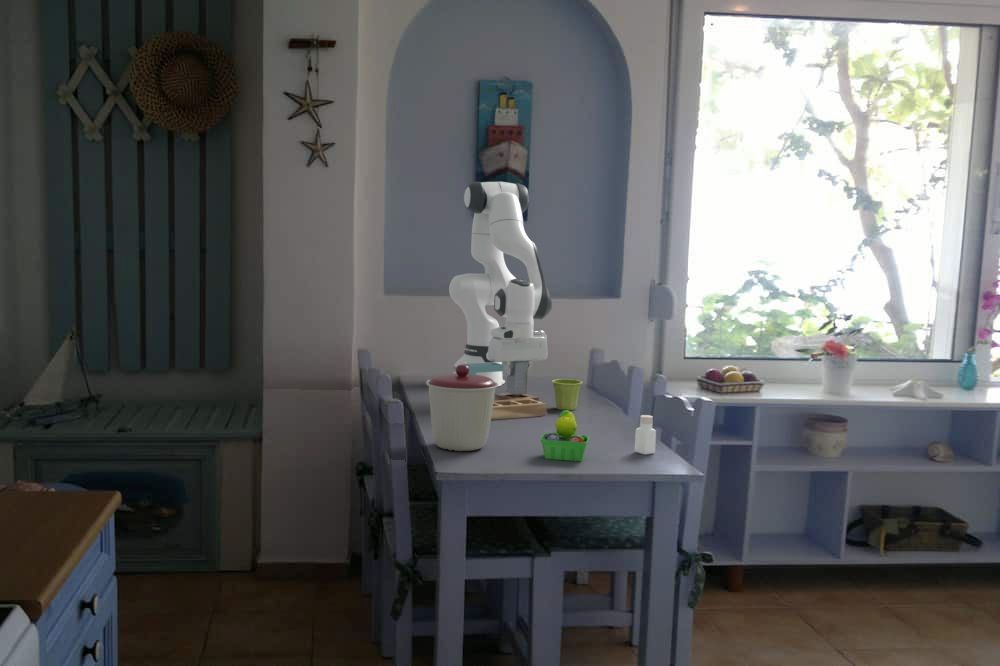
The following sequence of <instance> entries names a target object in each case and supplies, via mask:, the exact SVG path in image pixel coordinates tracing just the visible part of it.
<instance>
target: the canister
mask: <svg viewBox="0 0 1000 666" xmlns="http://www.w3.org/2000/svg"><path fill="white" fill-rule="evenodd" d="M469 371H470V369H469V367H468V366H467V365H458V366H457V367H456V374H454V373H444V374H438V375H434V376H433V377H431V378H430V379H428V380H426V381H425V382H426V383H425V384H426V386H427V387H428V397H429V399H428V400H429V408H430V409H429V410H430V411H429V412H430V422H431V433H432V438H433V442H434V443H435V444H436V446H437V447H438V448H440V449H443V450H446V449H448V450H449V451H452V450H454V451H453V452H470V451H476V450H479V449H482V448H483V447H484V446H485V445H486V443H487V441H488V438H489V434H490V426H491V421H492V420H491V416H492V409H493V402H494V401H495V394H496V389H497V388H498V387H499V386H498V383H496V382H494V381H493V380H492V379H491V378H488V377H485V376H481V375H474V374H469Z"/></svg>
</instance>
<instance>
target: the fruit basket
mask: <svg viewBox="0 0 1000 666" xmlns="http://www.w3.org/2000/svg"><path fill="white" fill-rule="evenodd" d="M554 424H555V428H556V432H552V433H551V432H547V433H543V434H542V436H541V437H540V443H541V444H542V449H543V455H544V459H546V460H556V461H557V460H559V461H561V460H562V461H574V462H582V461H583V458H584V455H585V452H586V448H587V445H588V443H589V440H590V436H588V435H581V434H576V431H577V427H578V426H577V422H576V417H575V415H574V413H572V412H571V410H567V409H564V410H561V413H560V415H559V416H558V418H557V419H556V422H555V423H554Z"/></svg>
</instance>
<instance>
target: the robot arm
mask: <svg viewBox="0 0 1000 666" xmlns="http://www.w3.org/2000/svg"><path fill="white" fill-rule="evenodd" d="M529 198H530V195H529V190H528V188H527V187H526V186H525V185H523V184H521V183H518V182H514V183H512V182H507V181H506V182H505V181H483V182H481V181H473V182H470V183H469V184H468V185H467V186H466V188H465V190H464V195H463V201H464V206H465V208H466V210H468V211H469V212H470V213H473V220H472V227H471V242H470V244H471V245H470V246H471V247H470V254H471V257H472V258H473V259H474V260H475V261H477V263H480V264H481V265H483V267H484V273H464V274H463V273H462V274H458V275H455V276H454V277H453V278H452V279H451V280H450V284H449V287H448V292H449V297H450V298H451V300H452V301H453V302H454V303H455V304H456V305H458V307H459V308H460V309H461V311H462V312H463V314H464V316H465V320H466V328H467V330H466V331H467V337H466V338H467V341H466V342H467V343H466V344H464V345H463V346H464V347H463V349H464V351H463V353H464V354H463V355H462V356H461V357H460V358H459V359H458V360H457V361H456V362H455V363H454V365H453V366H452V368H453V370H452V371H453V374H456V367H457V366H458V365H464V364H475V363H498V364H502V365H503V368H504V369H505V375H506V377H507V376H512V375H513V374H512V373H513V370H510V368H509V365H510V362H512V361H526V362H528V374H527V376H528V375H530V369H531V367H533V364H534V363H533V362H534V361H545V360H547V358H548V354H549V353H548V343H547V342H548V335H547V333H546V332H545V331H544V330H534V326H535V325H534V324H535V321H534V320H542V319H544V318H545V317H547V316H548V315H549V314H550V313H551V311H552V307H553V303H552V297H551V294H550V291H549V289H548V286H547V283H546V278H545V275H544V272H543V266H542V263H541V258H540V256H539V251H538V248H537V245H536V244H535V242H534V241H533V240H531V239H530V238H529V236H528V235H527V233H526V231H525V227H524V218H523V213H524V212H526V210H527V209H528V206H529V200H530V199H529ZM504 254H505V255H509V256H512V257H514V258H515V259H518V260H519V261H521V262H522V264H524V266H525V267H526V271H527V275H528V279H525V278H516V276H514V275H513V274H512V273H511V271H510V270H509V268H508V267H507V265H506V261H505V258H504V257H505V256H504ZM486 306H493V309H494V311H495V313H496V314H498V316H500V317H502V318H506V319H505V324H503V325H500V324H499V321H498V320H497V319H496V318H494V317H493V316H492V315H489V314H488V313H487V311H486ZM476 375H481V376H485V377H488V378H491V379H492V380H493V381H494V382H496V383H498V387H501V386H502V385H503V384H505V383H506V380H505V379H503V371H499V372H480V373H476Z"/></svg>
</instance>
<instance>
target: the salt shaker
mask: <svg viewBox="0 0 1000 666" xmlns="http://www.w3.org/2000/svg"><path fill="white" fill-rule="evenodd" d="M639 418H640V419H639V420H640V421H639V423H640V424H639V427H637V428H636V429H635V439H634V453H638V454H641V455H652V454H655V452H656V444H657V443H656V440H657V430H656V429H654V428H653V423H654V421H653V419H654V417H653V416H652V415H649V414H641V415H640V417H639Z"/></svg>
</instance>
